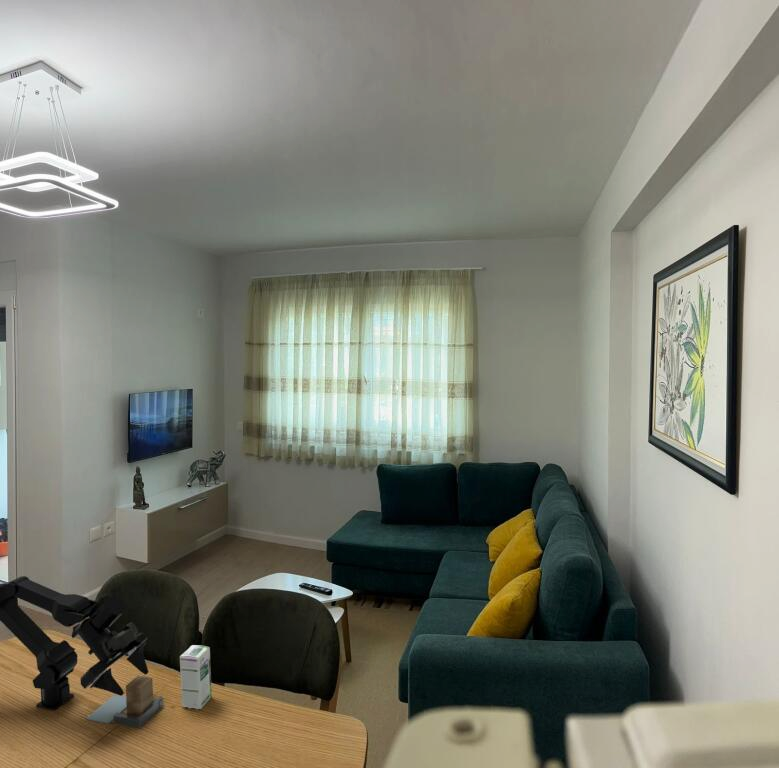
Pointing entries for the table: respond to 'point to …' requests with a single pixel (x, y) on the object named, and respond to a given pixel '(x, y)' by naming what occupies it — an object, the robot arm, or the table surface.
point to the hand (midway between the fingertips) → (135, 683)
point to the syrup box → (195, 676)
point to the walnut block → (139, 695)
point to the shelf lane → (142, 718)
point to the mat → (109, 709)
